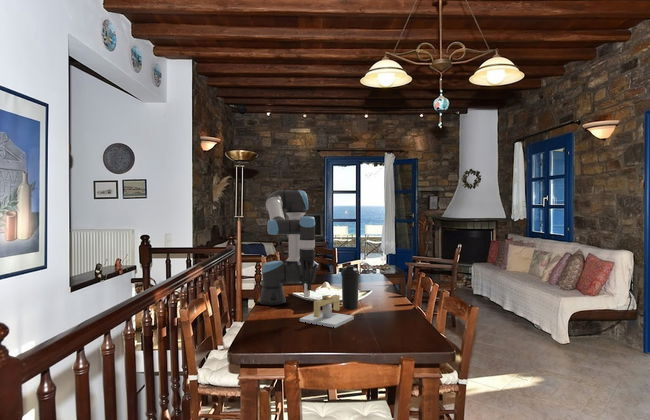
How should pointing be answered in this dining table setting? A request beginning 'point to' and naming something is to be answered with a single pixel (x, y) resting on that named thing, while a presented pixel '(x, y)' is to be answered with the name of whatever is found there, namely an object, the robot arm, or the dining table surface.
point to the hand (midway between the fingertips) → (306, 296)
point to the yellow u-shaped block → (326, 300)
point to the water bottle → (350, 287)
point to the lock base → (327, 318)
